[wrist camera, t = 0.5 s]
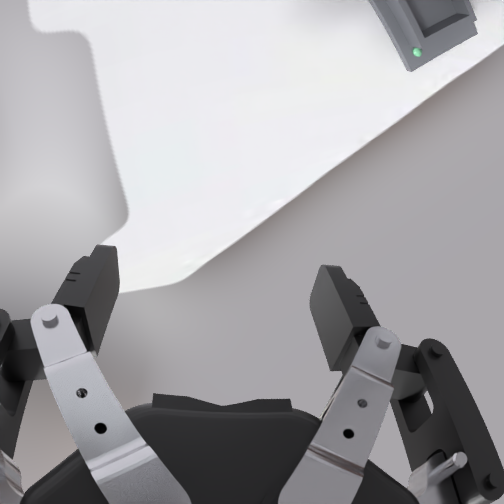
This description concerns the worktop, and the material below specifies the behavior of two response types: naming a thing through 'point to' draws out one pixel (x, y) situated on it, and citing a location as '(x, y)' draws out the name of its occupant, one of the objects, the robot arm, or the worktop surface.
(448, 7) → the charging dock
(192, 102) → the worktop surface
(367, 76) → the worktop surface
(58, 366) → the robot arm
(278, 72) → the worktop surface
